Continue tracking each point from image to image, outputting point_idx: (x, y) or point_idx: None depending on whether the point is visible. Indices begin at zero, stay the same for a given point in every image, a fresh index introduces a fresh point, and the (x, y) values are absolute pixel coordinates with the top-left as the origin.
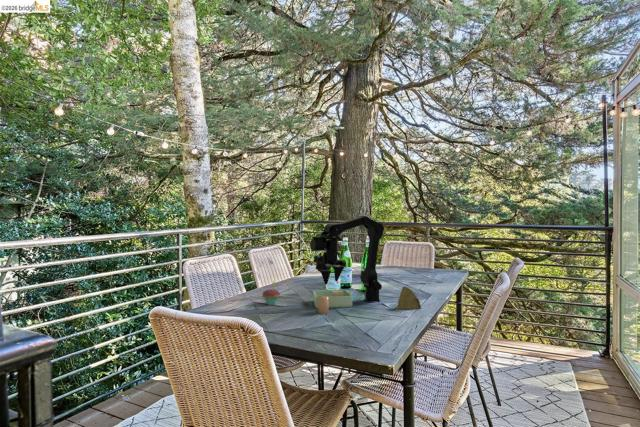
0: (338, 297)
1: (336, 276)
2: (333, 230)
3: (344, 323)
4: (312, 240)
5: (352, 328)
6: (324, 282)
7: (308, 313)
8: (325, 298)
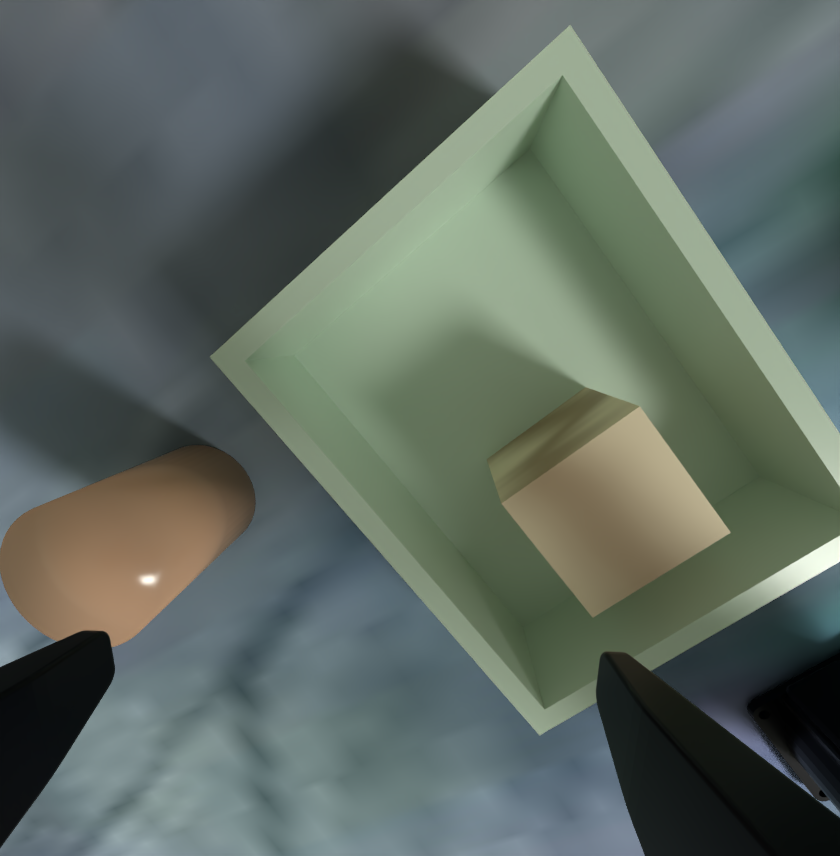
0: (427, 598)
1: (674, 827)
2: None
3: (73, 768)
4: None
5: (27, 844)
6: (33, 657)
7: (81, 397)
8: (51, 633)
